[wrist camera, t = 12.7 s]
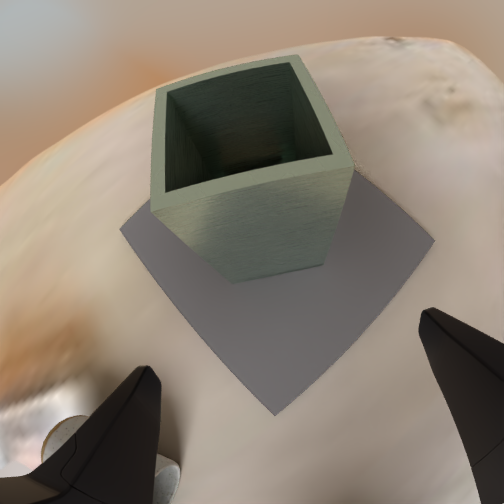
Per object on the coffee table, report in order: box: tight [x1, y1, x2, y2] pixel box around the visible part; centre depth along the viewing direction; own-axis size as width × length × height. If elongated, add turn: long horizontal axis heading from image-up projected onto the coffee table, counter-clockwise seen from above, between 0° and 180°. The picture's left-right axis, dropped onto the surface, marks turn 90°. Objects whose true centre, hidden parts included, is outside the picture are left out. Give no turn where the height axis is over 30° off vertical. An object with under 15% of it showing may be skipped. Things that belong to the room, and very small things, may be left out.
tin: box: [150, 55, 355, 284], centre depth 14 cm, size 6×6×11 cm
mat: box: [120, 170, 435, 416], centre depth 19 cm, size 18×16×1 cm
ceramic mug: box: [41, 415, 180, 504], centre depth 12 cm, size 11×8×8 cm
